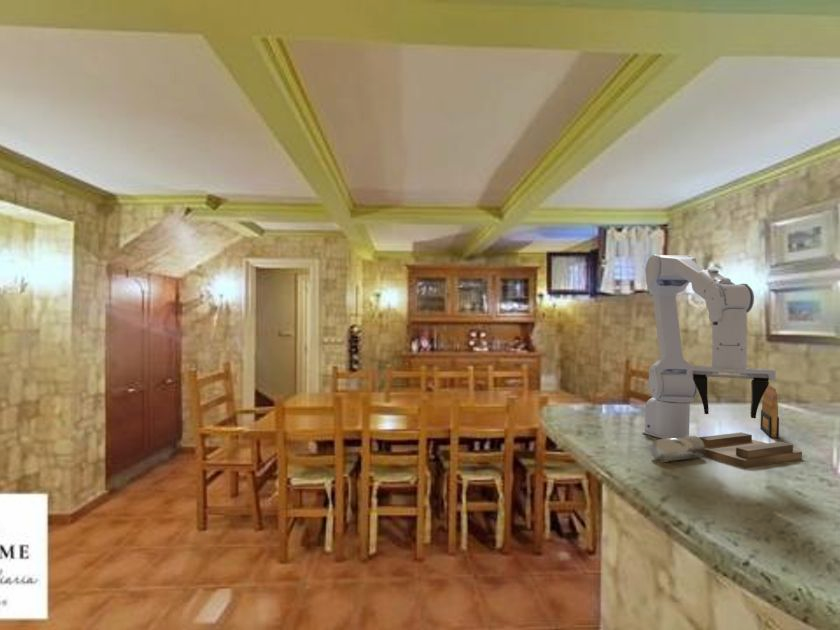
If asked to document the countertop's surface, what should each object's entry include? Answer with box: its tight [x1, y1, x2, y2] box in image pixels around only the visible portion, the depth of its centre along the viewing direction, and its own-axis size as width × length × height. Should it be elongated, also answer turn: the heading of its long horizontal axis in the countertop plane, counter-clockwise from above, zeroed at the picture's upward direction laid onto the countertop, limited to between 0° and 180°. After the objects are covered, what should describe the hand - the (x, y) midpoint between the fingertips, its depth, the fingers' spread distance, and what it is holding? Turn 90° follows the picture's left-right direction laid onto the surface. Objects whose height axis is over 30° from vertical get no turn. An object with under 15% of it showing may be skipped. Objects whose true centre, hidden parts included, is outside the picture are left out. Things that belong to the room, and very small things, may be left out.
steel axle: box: [650, 435, 705, 463], centre depth 100 cm, size 4×10×4 cm
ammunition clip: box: [759, 384, 780, 439], centre depth 124 cm, size 11×2×12 cm, turn 155°
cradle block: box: [698, 432, 803, 469], centre depth 104 cm, size 12×18×3 cm, turn 113°
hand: (729, 415), depth 95 cm, fingers open, 7 cm apart
